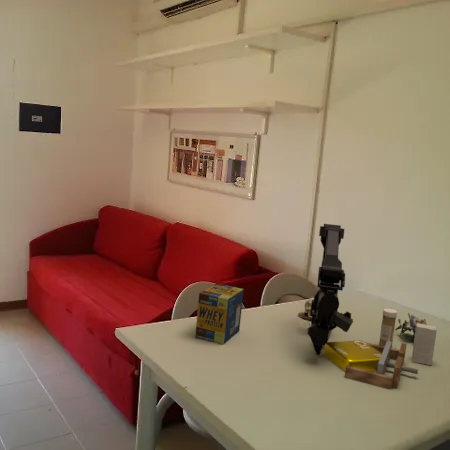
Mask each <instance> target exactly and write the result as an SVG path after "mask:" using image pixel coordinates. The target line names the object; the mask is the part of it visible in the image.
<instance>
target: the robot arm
mask: <svg viewBox="0 0 450 450" xmlns="http://www.w3.org/2000/svg"><path fill="white" fill-rule="evenodd" d="M341 227H342V226H341V225H340V224H339V225H338V224H330V223H329V224H328V223H323V226H322V225H320V226H319V232H318V233H319V234H318V236H319V237H320V240H319V241H320V243H321V245H322V247H323V252H322V259H321V264H320V265H321V266H318V272H317V273H318V274H317V284H316V285H317V286H316V287H317V288H318V289H317V291H316V292H315V293H314V295H313V298H314V300H312V302H311V308H310V316H312V320H311V321H310V326H309V327H308V331H307V335H308V337H310V340H311V343H312V346H313V349H314V352H315V355H317V356H320V355H321V352H322V349H323V346H324V347H325V343H327V342H329V339H330V337H331V334H332V331H333V330H334V329H336V328H338V329H340V330H342V331H343V332H345V333H347V332H348V331H349V330H350V328H351V326H352V324H353V323H354V319H353V318H352V313H351V312H349V311H345V312H344V313H343V312H339V308H340V301H339V296H338V294H339V293H338V292H339V291H343V288H345V287H346V286H345V285H346V272H345V270H344V269H343V263H342V261H341V260H340V259H339V245H340V244H341V242H342V240H343V239H345V237H344V235H345V228H341ZM312 310H313V311H312Z"/></svg>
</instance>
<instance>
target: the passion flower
mask: <svg viewBox="0 0 450 450" xmlns="http://www.w3.org/2000/svg"><path fill="white" fill-rule="evenodd" d="M407 316H408V319H409V320H406V319H405V320H404V322H403V323H402V324H401V319H400V318H398V319H397V322H398V324H399V326H398V327H396V328H394V331H398V330H400V329H401V330H400V332H399V336H398V337H400V336H401V335H403V334H405V333H406V332H407V331H408V332H413V334H412V335H413V337H414V338H415V331H416V324H417V323H419V324H425V325H428V324H427V321H426V319H425V318H424V319H423V318H421V319H420V318H419V317H416V316H415V315H414V314H410V312H408V313H407Z"/></svg>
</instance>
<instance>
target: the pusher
mask: <svg viewBox="0 0 450 450" xmlns="http://www.w3.org/2000/svg"><path fill="white" fill-rule="evenodd" d="M391 345H392V346H393V343H392V342H391V341H387V342H386V345H385V347H384V350H383V352H382V355H381V358H380V360H379V363H378V368H377V371H376V373H379V374H383V375H385V372H386V371H387V368H391V369H394V367H395V364H396V363H393V362H389V360H390V352H391ZM387 358H388V361H387ZM386 367H387V368H386ZM401 370H402V371H403V372H407V373H411V374H414V375H418V372H419V369H417V368H413V367H409V366H405V365H403V366H402V368H401ZM402 371H401V372H402Z"/></svg>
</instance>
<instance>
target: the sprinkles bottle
mask: <svg viewBox="0 0 450 450" xmlns="http://www.w3.org/2000/svg"><path fill="white" fill-rule="evenodd" d="M397 317H398V311H397V310H395V309H393V308H384V309H383V311H382V319H381V327H380V333H379V342H378V345H380V346H384V347H385V345H386V342H387V341H391V342H392V345H391V348H393V342H394V338H395V337H394V336H395V329H396V328H395V326H396V319H397Z"/></svg>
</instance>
